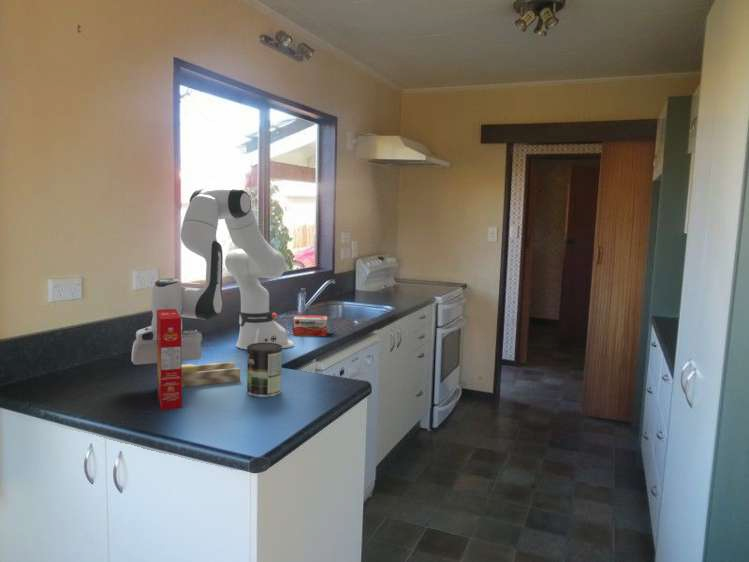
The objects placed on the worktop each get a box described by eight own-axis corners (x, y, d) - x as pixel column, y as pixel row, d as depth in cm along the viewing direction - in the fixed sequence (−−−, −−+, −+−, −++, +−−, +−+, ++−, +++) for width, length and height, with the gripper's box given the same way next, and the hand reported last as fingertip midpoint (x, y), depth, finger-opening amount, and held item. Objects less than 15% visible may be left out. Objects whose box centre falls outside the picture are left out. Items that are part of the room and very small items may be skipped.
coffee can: (250, 398, 165) (250, 351, 164) (244, 388, 175) (244, 343, 173) (284, 395, 169) (285, 349, 168) (277, 385, 179) (278, 341, 177)
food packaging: (157, 393, 167) (156, 309, 164) (176, 391, 169) (175, 309, 166) (161, 410, 154) (160, 319, 151) (181, 407, 156) (181, 318, 153)
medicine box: (292, 335, 251) (292, 318, 250) (294, 332, 259) (294, 314, 258) (326, 336, 252) (327, 319, 251) (327, 332, 260) (327, 315, 259)
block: (192, 379, 182) (192, 363, 182) (195, 383, 178) (195, 367, 177) (176, 380, 180) (176, 365, 179) (178, 385, 175) (178, 369, 175)
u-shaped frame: (233, 373, 190) (233, 359, 190) (240, 380, 182) (240, 366, 182) (170, 379, 181) (170, 364, 180) (174, 387, 173) (174, 372, 172)
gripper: (200, 327, 182) (200, 370, 184) (130, 331, 173) (131, 376, 174) (203, 331, 177) (203, 375, 178) (132, 335, 167) (132, 381, 169)
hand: (167, 375), depth 176 cm, fingers closed
